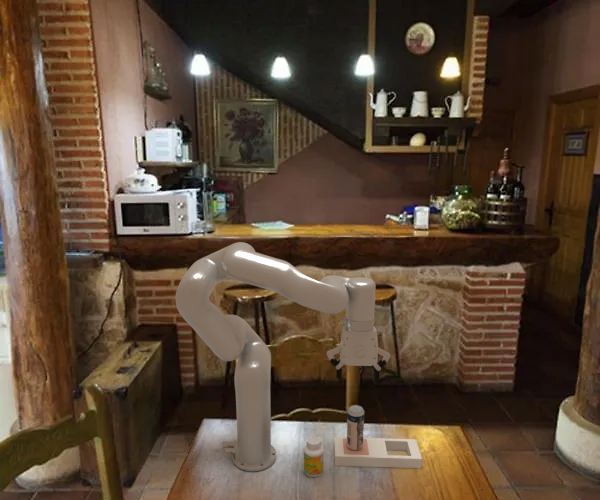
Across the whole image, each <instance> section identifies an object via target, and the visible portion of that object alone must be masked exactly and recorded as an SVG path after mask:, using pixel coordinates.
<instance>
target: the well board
mask: <svg viewBox="0 0 600 500" xmlns="http://www.w3.org/2000/svg"><path fill="white" fill-rule="evenodd" d="M333 439H334V440H333V443H334V444H333V451H334V453H333V455H334V466H336V467H360V468H361V467H362V468H363V467H364V468H365V467H366V468H367V467H368V468H369V467H370V468H371V467H372V468H374V467H375V468H396V469H397V468H399V469H400V468H401V469H422V465H423V457H422V455H421V454H422V453H421V451H420V448H419V445H418V442H417V439H413V438H384V437H383V438H382V437H363V447H362V448H361V449H359V450H352V449H350V448H348V447H347V436H334V437H333ZM388 451H406V454H407V455H397V454H396V455H395V454H394V455H393V454H392V455H391V454H390V455H389V454H388Z"/></svg>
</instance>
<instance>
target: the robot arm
mask: <svg viewBox="0 0 600 500" xmlns="http://www.w3.org/2000/svg"><path fill="white" fill-rule="evenodd" d="M228 279H232V280H234V281H238V282H240V283H244V284H248V285H251V286H255V287H257V288H261V289H264V290H268V291H270V292H275V293H277V294H278V295H280V296H282V297H285V298H286V299H289V300H291V301H292V302H295V304H298V305H300V306H303V307H305V308H308V309H311V310H315V311H318V312H321V313H326V314H331V315H333V314H334V315H336V314H339V313H342V312H343V311H345V317H343V318H340V324H343V327H342V332H341V336H340V345H338V346H337V347H333V348H331V349H329V350H327V351H326V356H327V357H328V360H329V362H330V364H332V366H333V367H335V370H336V373H335V374H336V375H335V377H336V379H338V383H339V384H341V383H343V381H342V380H343V378H342V377H343V376H342V375H343V374H342V373H343V368H342V367H343V366H358V367H361V366H363V367H364V366H365V367H372V366H373V367H372V370H373V371H372V380H373V381H372V382H373V384H374V385H377V383H378V382H377V381H379V380H380V371H381V370H382V368H384V366H386V365H387V363H388V361H389V360H390V358H391V354H390V353H389V351H386V350H384V349H382V348H380V347H379V342H378V341H379V339H378V338H379V337H378V331H377V328H376V327H375V305H376V286H377V285H376V282H375V281H374V280H373V279H371V278H369V277H366V276H365V277H364V276H363V277H362V276H359V277H358V276H355V277H348V276H346V277H345V276H342V275H333V274H332V275H326V276H324V277H322V278H321V279H320V280H316V279H315V278H311V277H310V276H307V275H305V274H303V273H302V272H301V271H299V270H298V269H297V268H296V267H295V266H294V265H293V264H291V263H290V262H288V261H287V260H284V259H280V258H276V257H274V256H269V255H266V254H264V253H260V252H256V249H254V247H253V246H252V245H251V244H249V243H246V242H241V241H239V242H238V241H237V242H234V243H232V244H230V245H227V246H225V247H223V248H221V249H219V250H217V251H214V252H212V253H210V254H208V255H206V256H203V257H201V258H200V259H198V260H196V261H195V262H193V264H192V265H191V266H190V267H189V269H187V270H186V272H185V273H184V275H183V276H182V278H181V280H180V281H179V284H178V287H177V289H176V292H175V297H174V298H175V306H176V310H177V311H178V313H179V315H180V316H181V317H182V319H184V321H185V322H187V324H188V325H189V327H191V328H192V329H193V330H194V331H195V333H196V335H198V336H199V338H201V340H202V341H203V343H205V344H206V345H207V346H208V348H209V349H210V350H211V351H212V352H213V354H214V355H215V356H217V358H219V359H221V360H222V361H225V362H231V361H235V360H237V361H236V365H235V369H234V377H233V379H234V390H235V402H236V403H235V405H236V407H235V408H236V409H235V410H236V432H237V433H236V436H237V437H236V440H233V441H224V440H223V441H222V449H225V450H224V453H225V454H232V455H231V457H232V462H233V465H234V466H236V467H237V469H241V470H243V471H247V472H257V471H263V470H266V469H268V468H269V467H271V466H272V465H273V464H274V463H275V462H276V459H277V449H276V448H275V446H273V444H272V438H271V437H272V432H271V430H272V429H271V427H272V426H271V424H272V423H271V422H272V421H271V417H272V416H271V415H272V414H271V413H272V412H271V371H272V370H271V368H272V353H271V350H270V349H269V347H268V345H267V344H266V343H265V342H264V341H263V339H262V338H261V337H260V336H259V335H258V334H257V333H256V332H255V330H254V329H253V328H252V326H250V324H248V322H247V321H246V320H245V319H243V318H242V317H240V316H239V315H236V314H224V313H223V312H222V310H221V309H220V308H219V307H218V306H217V305H215V304H214V303H213V302H211V300H210V297H211V295H212V293H213V292H214V289H215V288H216V286H217V284H220V283H222V282H224V281H227V280H228ZM336 354H339V358H338V359H336V358H335V357H334V356H335V355H336ZM379 355H380V356H382V358H381V359H380V360H379V357H378V356H379Z"/></svg>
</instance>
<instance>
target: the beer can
mask: <svg viewBox="0 0 600 500" xmlns="http://www.w3.org/2000/svg"><path fill="white" fill-rule="evenodd" d="M346 418H347V419H346V437H347V447H348V448H350V449H352V450H359V449H361V448H362V447H363V438H364V432H365V431H364V427H365V425H364V424H365V410H364V408H363V407H362V406H361V405H358V404H353V405H350V406H349V407H348V408H347V417H346Z"/></svg>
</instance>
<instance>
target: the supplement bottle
mask: <svg viewBox="0 0 600 500" xmlns="http://www.w3.org/2000/svg"><path fill="white" fill-rule="evenodd" d="M324 451H325V450H324V447H323V445H322V439H321V437H320V436H318V435H309V436H308V437H307V438H306V444H305V445H304V448H303V472H304V474H305V476H308V477H310V478H316V477H317V478H318V477H320V476H322V475H323V472H324V454H325V453H324Z"/></svg>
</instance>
